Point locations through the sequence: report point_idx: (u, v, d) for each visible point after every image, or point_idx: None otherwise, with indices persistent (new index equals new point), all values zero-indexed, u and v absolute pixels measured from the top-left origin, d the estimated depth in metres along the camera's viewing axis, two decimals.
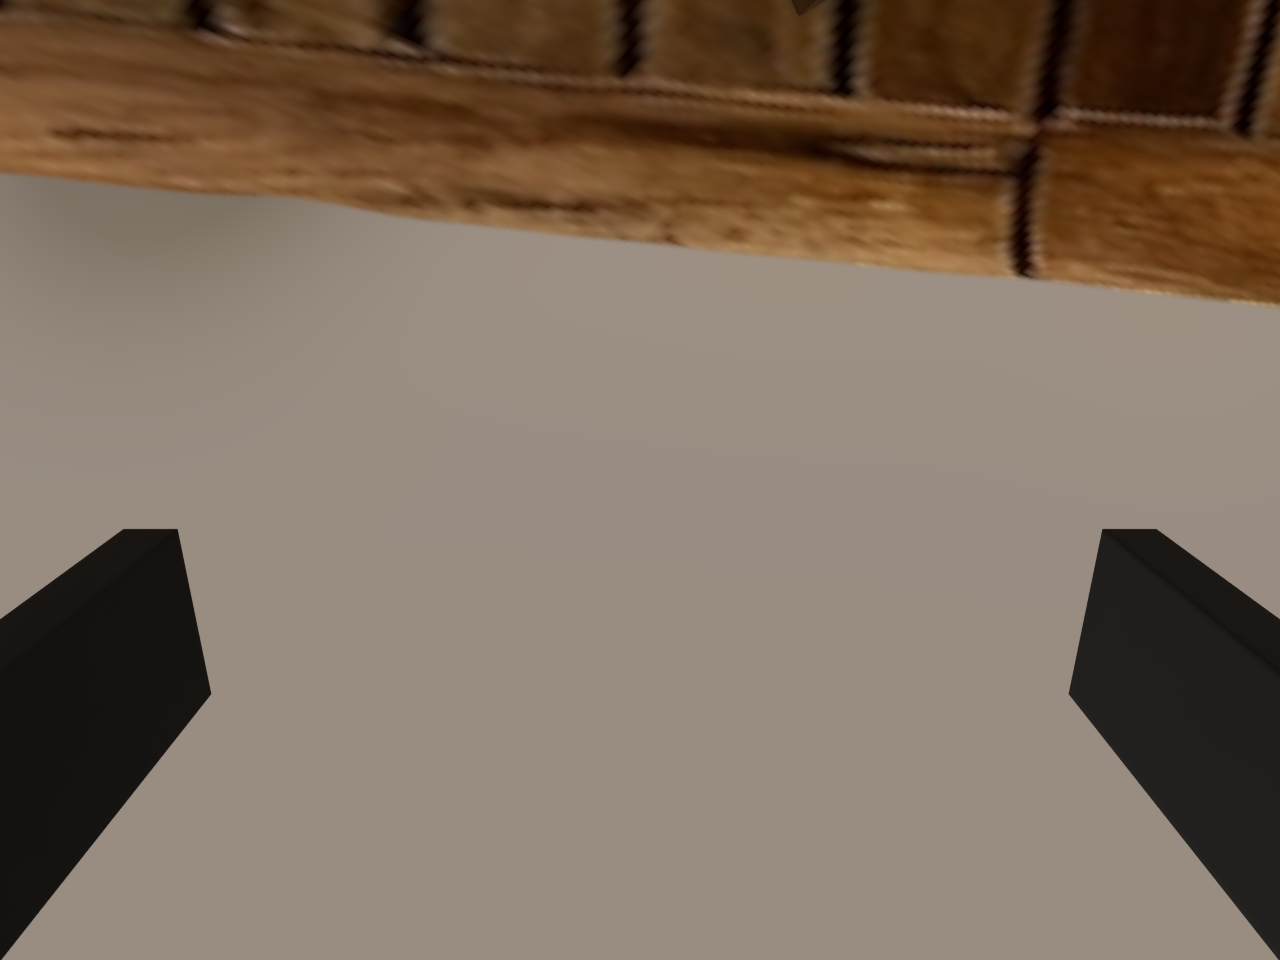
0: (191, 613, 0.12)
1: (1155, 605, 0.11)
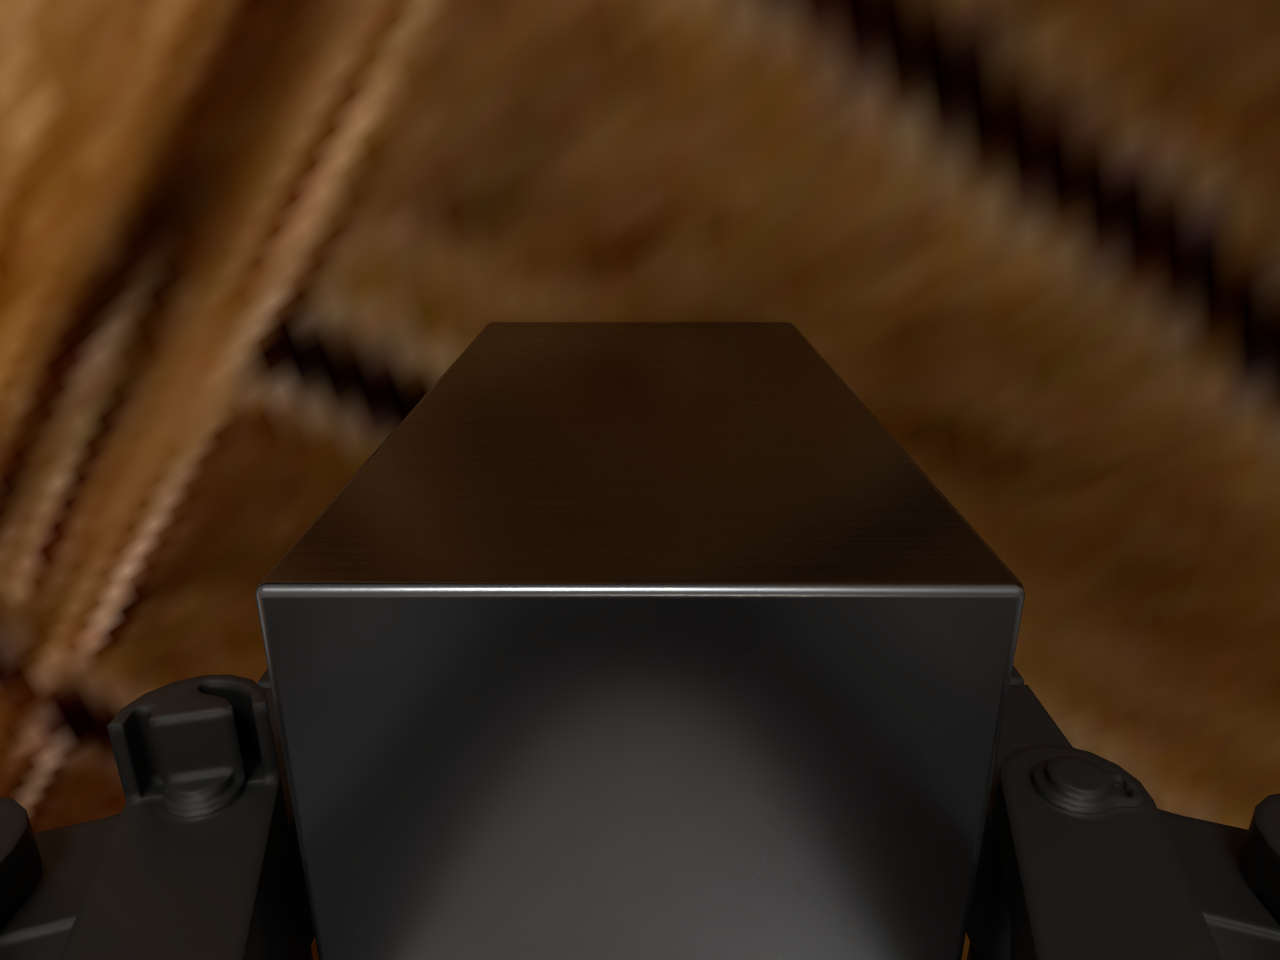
0: None
1: None
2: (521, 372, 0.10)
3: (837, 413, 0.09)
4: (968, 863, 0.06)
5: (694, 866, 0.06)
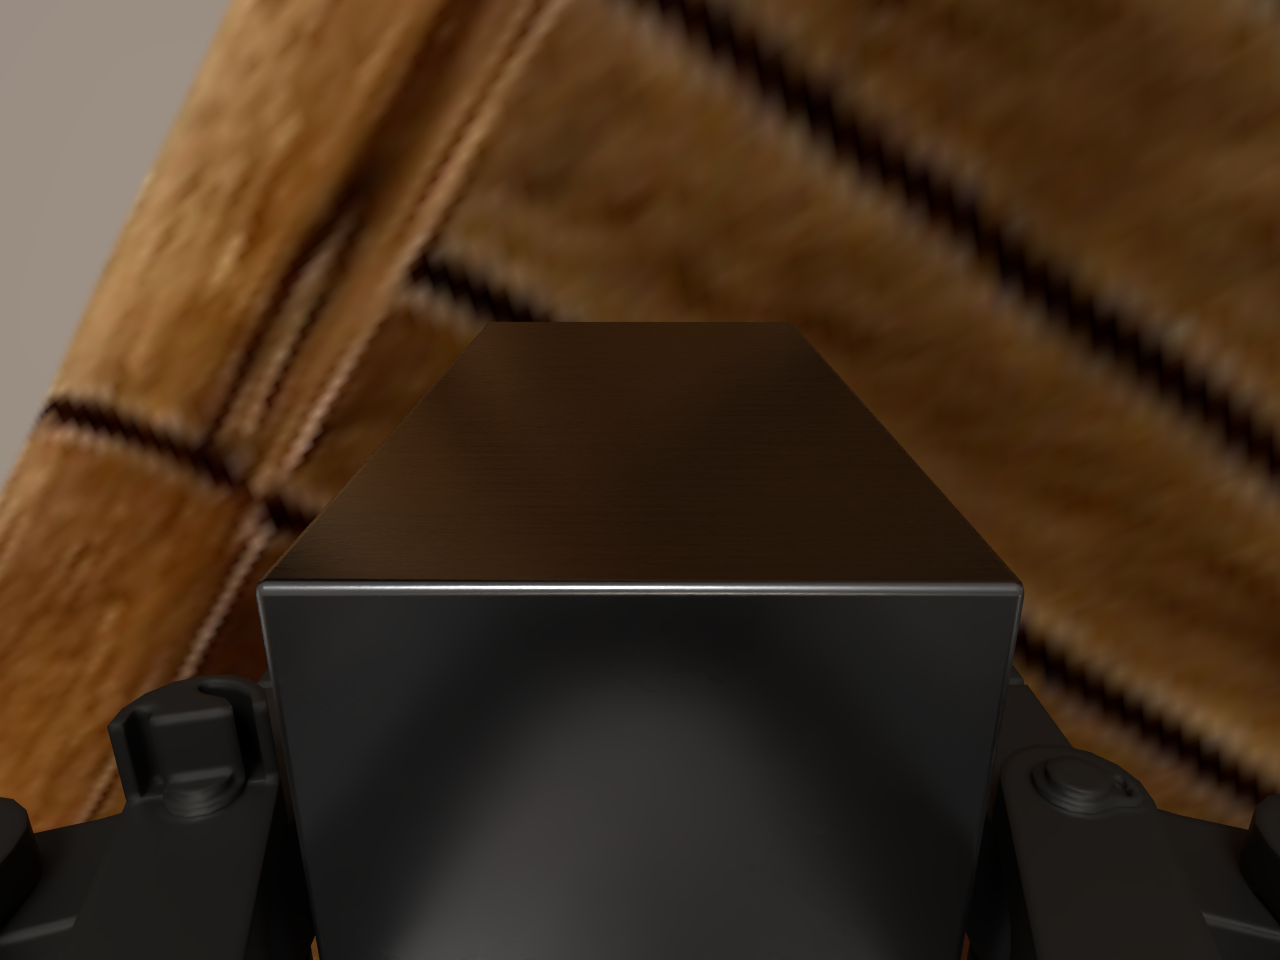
0: None
1: None
2: (521, 371, 0.11)
3: (837, 412, 0.09)
4: (968, 861, 0.06)
5: (695, 864, 0.06)
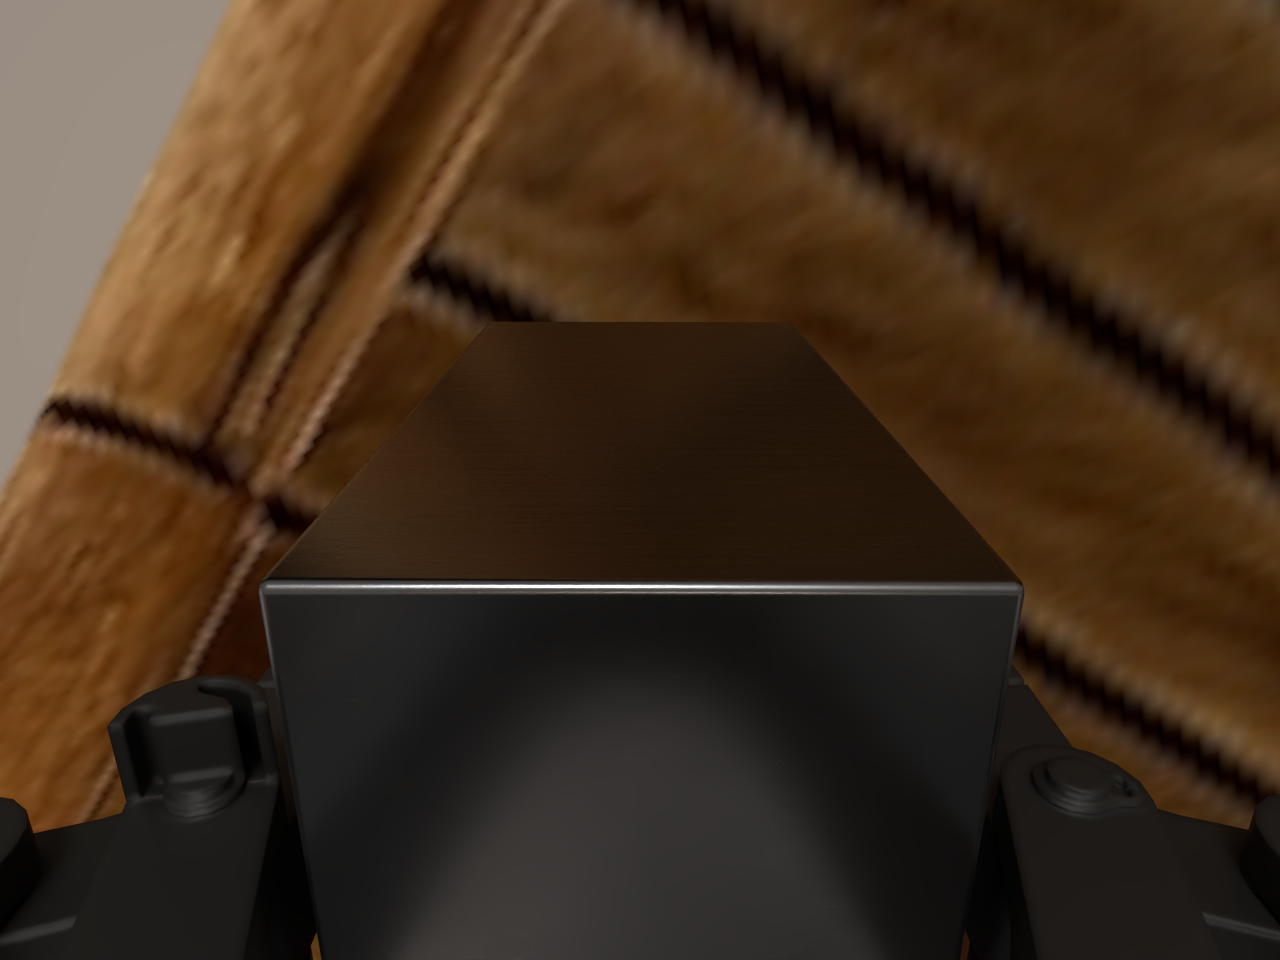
0: None
1: None
2: (522, 371, 0.11)
3: (837, 412, 0.09)
4: (967, 859, 0.06)
5: (695, 863, 0.06)
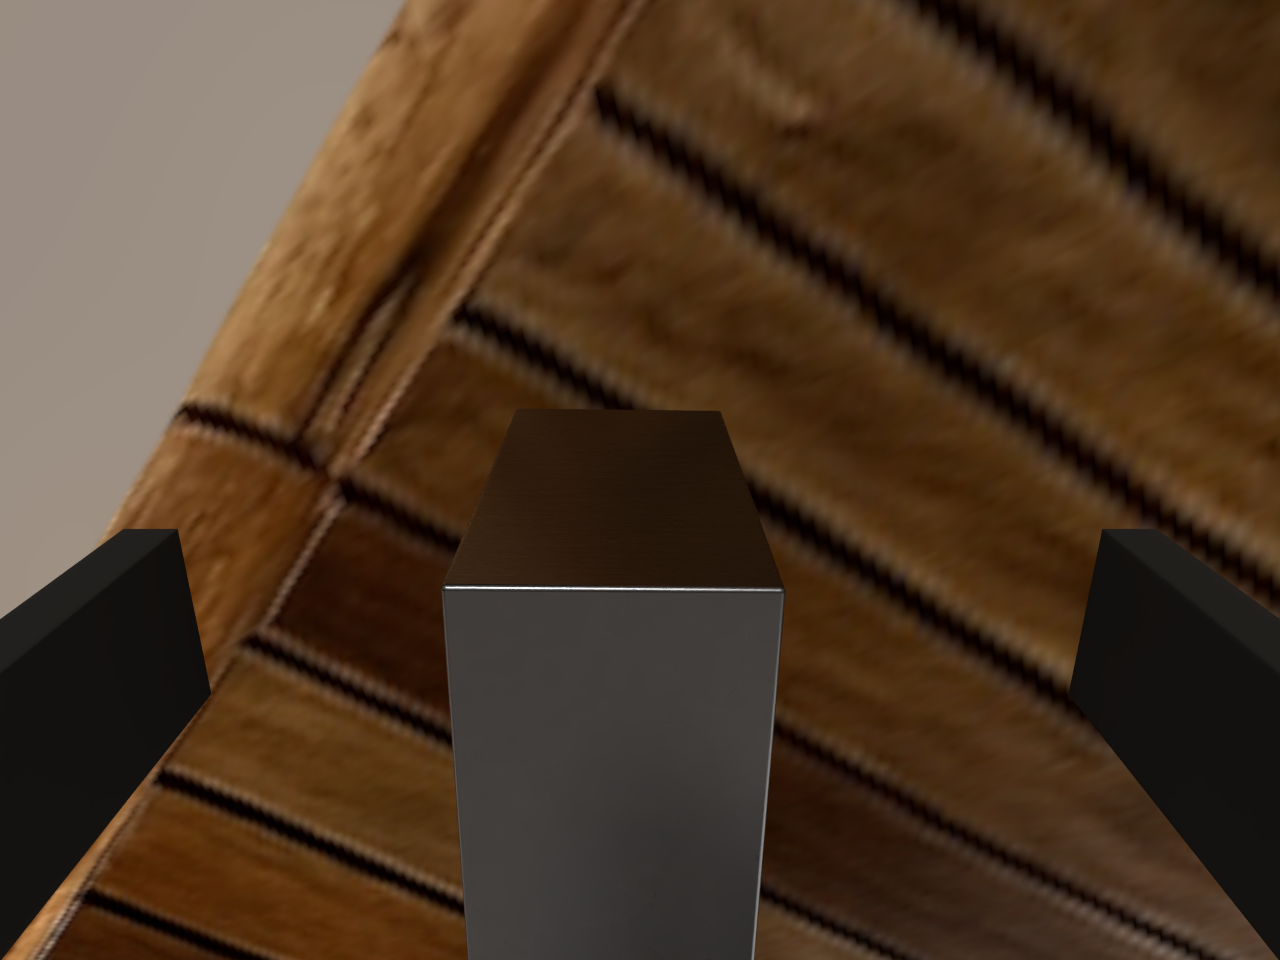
0: (191, 613, 0.12)
1: (1156, 605, 0.11)
2: (544, 455, 0.17)
3: (728, 489, 0.16)
4: (769, 719, 0.13)
5: (639, 721, 0.13)
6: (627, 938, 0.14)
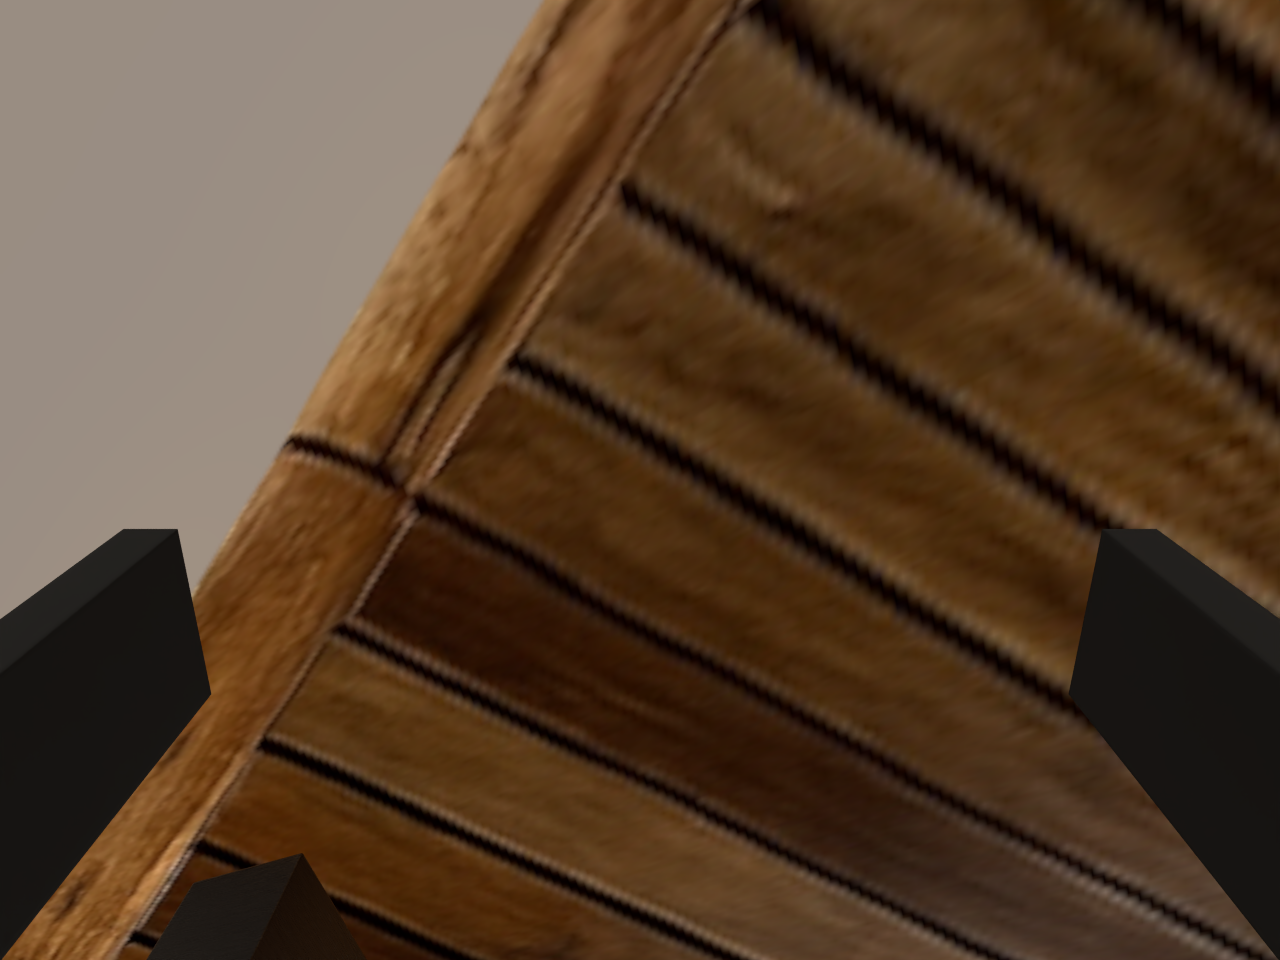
0: (191, 613, 0.12)
1: (1155, 605, 0.11)
2: (171, 949, 0.31)
3: None
4: None
5: None
6: None
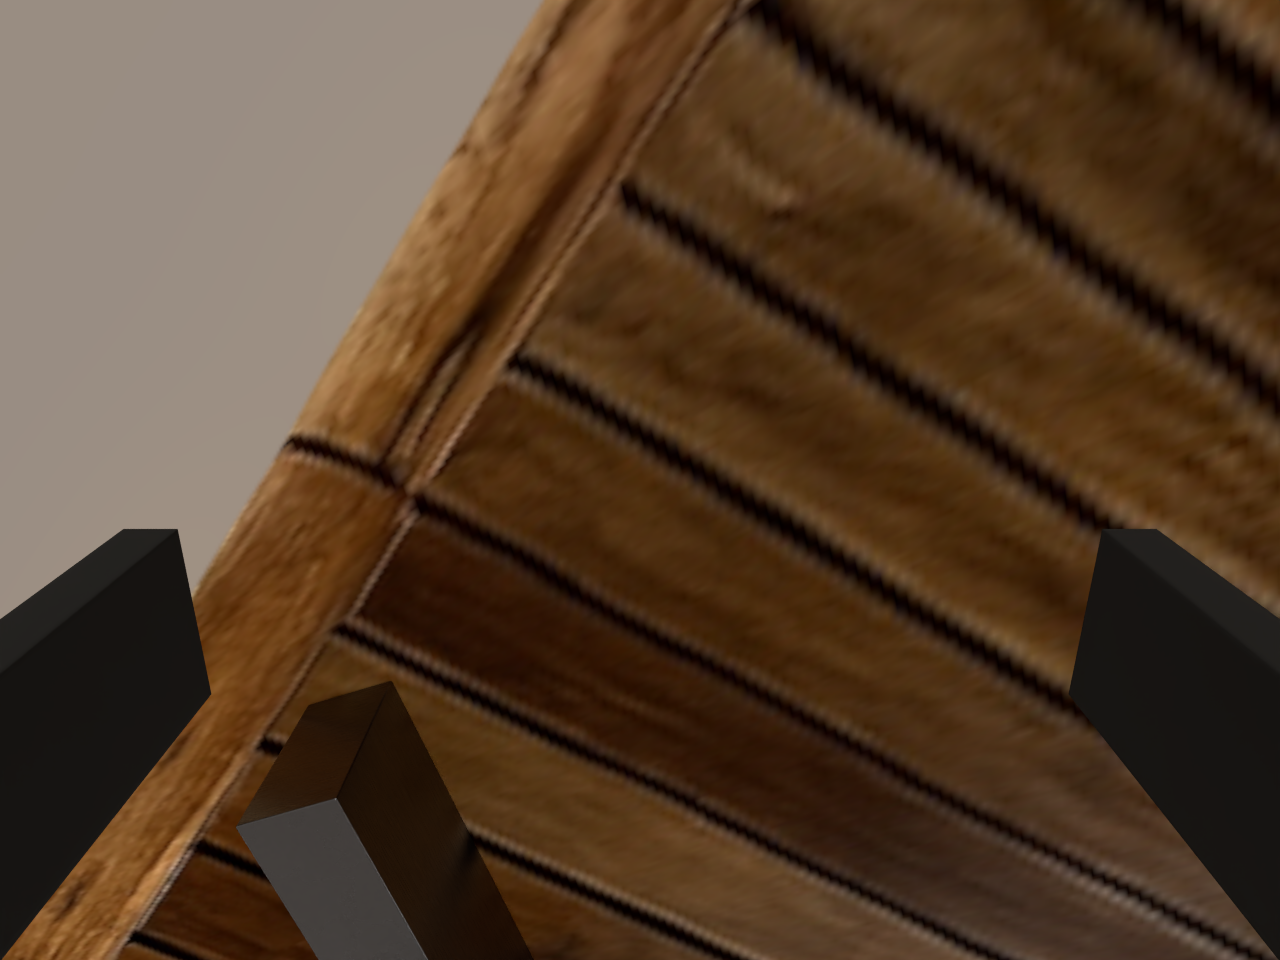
0: (191, 613, 0.12)
1: (1155, 605, 0.11)
2: (301, 740, 0.43)
3: (354, 744, 0.41)
4: (355, 837, 0.38)
5: (315, 849, 0.38)
6: (355, 920, 0.39)
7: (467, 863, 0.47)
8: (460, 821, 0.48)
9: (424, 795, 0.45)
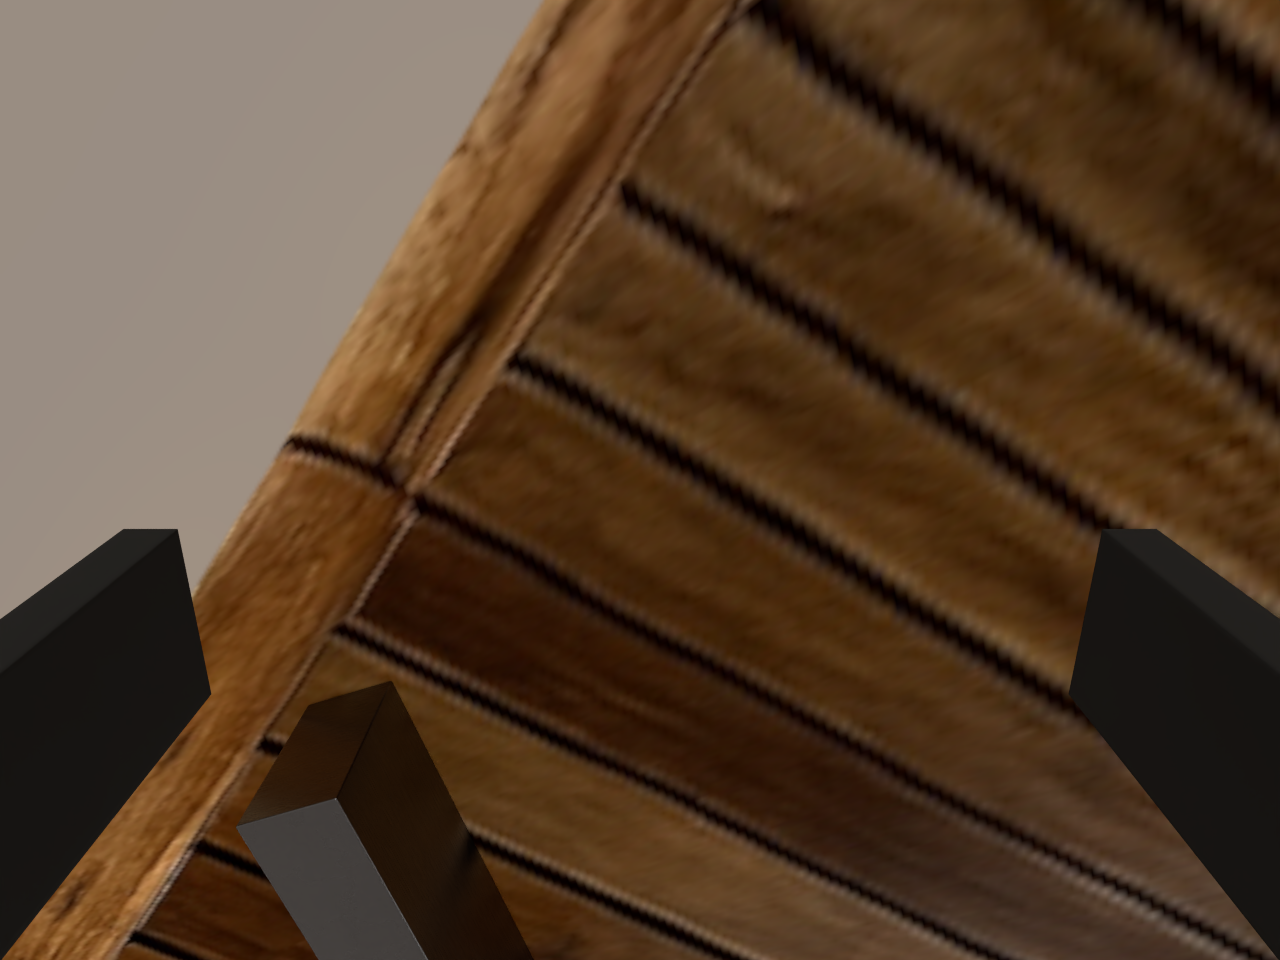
0: (191, 613, 0.12)
1: (1155, 605, 0.11)
2: (301, 740, 0.43)
3: (354, 744, 0.41)
4: (355, 837, 0.38)
5: (315, 849, 0.38)
6: (355, 920, 0.39)
7: (467, 863, 0.47)
8: (460, 821, 0.48)
9: (424, 795, 0.45)
